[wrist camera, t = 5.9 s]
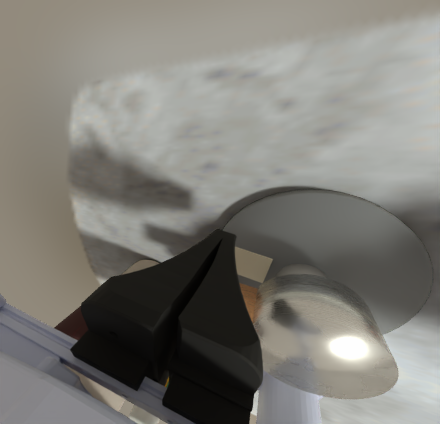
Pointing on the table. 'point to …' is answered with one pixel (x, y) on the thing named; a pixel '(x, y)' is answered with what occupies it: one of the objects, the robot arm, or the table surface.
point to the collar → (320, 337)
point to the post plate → (335, 249)
